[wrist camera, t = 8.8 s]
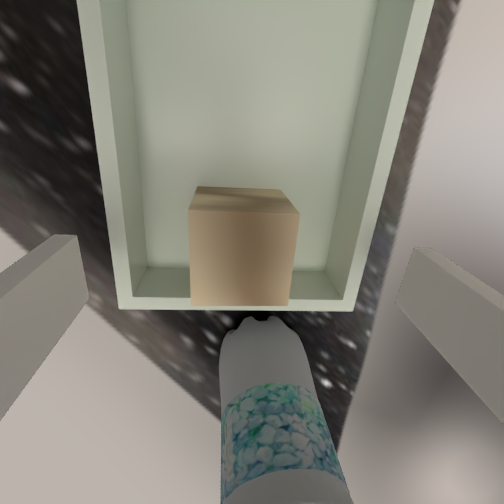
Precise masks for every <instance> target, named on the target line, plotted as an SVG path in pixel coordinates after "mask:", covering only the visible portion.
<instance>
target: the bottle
mask: <svg viewBox="0 0 504 504" xmlns="http://www.w3.org/2000/svg"><path fill="white" fill-rule="evenodd" d="M219 379H220V394H221V409H222V419H221V504H354V503H353V501H352V499H351V497H350V494H349V490H348V487H347V484H346V481H345V478H344V475H343V472H342V469H341V466H340V463H339V460H338V457H337V454H336V451H335V448H334V445H333V442H332V439H331V436H330V433H329V430H328V427H327V424H326V421H325V418H324V415H323V412H322V409H321V406H320V404H319V401H318V398H317V395H316V391H315V387H314V383H313V379H312V375H311V371H310V367H309V363H308V360H307V356H306V353H305V350H304V347H303V344H302V342H301V340H300V338H299V336H298V335H297V334H296V332H294V331H293V330H292V329H289V328H288V327H287V326H286V325H285V324H284V322H283V321H282V320H281V319H279V318H278V317H274V316H270V317H268V319H267V321H257V320H255V319H254V318H253V317H252V316H251V317H247V318H245V319H244V320H243V321H242V323H241V324H240V326H239V327H238V329H236V330H230V331H229V332H228V333H227V334H226V336H225V337H224V340H223V342H222V346H221V352H220V360H219Z"/></svg>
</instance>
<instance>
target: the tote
mask: <svg viewBox="0 0 504 504" xmlns="http://www.w3.org/2000/svg"><path fill="white" fill-rule="evenodd" d="M433 3H434V0H77V7H78V14H79V22H80V29H81V36H82V44H83V51H84V58H85V65H86V73H87V80H88V87H89V95H90V102H91V109H92V116H93V124H94V131H95V138H96V145H97V153H98V160H99V167H100V175H101V182H102V189H103V196H104V204H105V211H106V218H107V225H108V233H109V240H110V247H111V255H112V262H113V269H114V276H115V284H116V291H117V298H118V305H119V309H156V310H266V311H353V309H354V305H355V301H356V297H357V294H358V290H359V286H360V282H361V278H362V274H363V271H364V267H365V263H366V259H367V255H368V252H369V248H370V244H371V240H372V236H373V232H374V229H375V225H376V221H377V217H378V213H379V210H380V206H381V202H382V198H383V194H384V190H385V187H386V183H387V179H388V175H389V171H390V167H391V164H392V160H393V156H394V152H395V148H396V145H397V141H398V137H399V133H400V129H401V125H402V122H403V118H404V114H405V110H406V106H407V102H408V99H409V95H410V91H411V87H412V83H413V80H414V76H415V72H416V68H417V64H418V60H419V57H420V53H421V49H422V45H423V41H424V38H425V34H426V30H427V26H428V22H429V18H430V15H431V11H432V7H433ZM197 186H205V187H229V188H253V189H277V190H281V191H282V192H283V193H284V194H285V196H286V197H287V198H288V199H289V201H290V202H291V203H292V204H293V206H294V207H295V208H296V209H297V210H298V212H299V213H300V219H299V227H298V234H297V242H296V249H295V257H294V264H293V272H292V279H291V287H290V294H289V302H288V306H191V294H190V262H189V231H188V208H189V206H190V204H191V201H192V199H193V196H194V194H195V191H196V189H197Z"/></svg>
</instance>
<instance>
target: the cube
mask: <svg viewBox="0 0 504 504" xmlns="http://www.w3.org/2000/svg"><path fill="white" fill-rule="evenodd" d="M299 219H300V213H299V212H298V210H297V209H296V208H295V207H294V206H293V204H292V203H291V202H290V201H289V199H288V198H287V197H286V196H285V194H284V193H283V192H282V191H281V190H277V189H253V188H229V187H205V186H197V189H196V191H195V194H194V196H193V199H192V201H191V204H190V206H189V208H188V231H189V262H190V294H191V306H288V302H289V294H290V287H291V279H292V272H293V264H294V257H295V249H296V242H297V234H298V227H299Z"/></svg>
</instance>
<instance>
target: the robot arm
mask: <svg viewBox="0 0 504 504" xmlns="http://www.w3.org/2000/svg"><path fill="white" fill-rule="evenodd" d="M88 300H89V294H88V289H87V284H86V279H85V274H84V269H83V264H82V259H81V254H80V249H79V244H78V238H77V235H57V234H54V235H53V236H51V237H50V238H49V239H47V240H46V241H44V242H43V243H42V244H40V245H39V246H37V247H36V248H35V249H33V250H32V251H30V252H29V253H28V254H26V255H25V256H24V257H22V258H21V259H19V260H18V261H17V262H15V263H14V264H12V265H11V266H10V267H8V268H7V269H5V270H4V271H3V272H1V273H0V421H1V419H2V418H3V417H4V415H5V414H6V412H7V411H8V410H9V408H10V407H11V405H12V404H13V403H14V401H15V400H16V399H17V397H18V396H19V394H20V393H21V392H22V390H23V389H24V388H25V386H26V385H27V383H28V382H29V381H30V379H31V378H32V376H33V375H34V374H35V372H36V371H37V370H38V368H39V367H40V366H41V364H42V363H43V361H44V360H45V359H46V357H47V356H48V355H49V353H50V352H51V350H52V349H53V347H54V346H55V345H56V344H57V342H58V341H59V339H60V338H61V337H62V335H63V334H64V333H65V331H66V330H67V328H68V327H69V326H70V324H71V323H72V322H73V320H74V319H75V317H76V316H77V314H78V313H79V312H80V311H81V309H82V308H83V306H84V305H85V304H86V302H87V301H88ZM395 303H396V304H397V306H398V307H399V308H400V309H401V310H402V311H403V312H404V313H405V315H406V316H407V317H408V318H409V319H410V320H411V321H412V322H413V323H414V325H415V326H416V327H417V328H418V329H419V330H420V331H421V332H422V334H423V335H424V336H425V337H426V338H427V339H428V340H429V341H430V343H431V344H432V345H433V346H434V347H435V348H436V349H437V350H438V352H439V353H440V354H441V355H442V356H443V357H444V358H445V359H446V360H447V362H448V363H449V364H450V365H451V366H452V367H453V368H454V369H455V371H456V372H457V373H458V374H459V375H460V376H461V377H462V378H463V380H464V381H465V382H466V383H467V384H468V385H469V386H470V387H471V388H472V390H473V391H474V392H475V393H476V394H477V395H478V396H479V397H480V399H482V401H483V402H484V403H485V404H486V405H487V406H488V407H489V409H490V410H491V411H492V412H493V413H494V414H495V415H496V416H497V418H498V419H499V420H500V421H501V422H502V423H503V424H504V296H503V295H502V294H500V293H499V292H497V291H496V290H494V289H493V288H491V287H490V286H488V285H487V284H485V283H483V282H482V281H480V280H479V279H478V278H476V277H474V276H473V275H471V274H469V273H468V272H467V271H465V270H464V269H462V268H461V267H459V266H458V265H456V264H455V263H453V262H452V261H450V260H449V259H447V258H446V257H444V256H442V255H441V254H440V253H438V252H436V251H435V250H433V249H432V248H420V247H414V248H413V251H412V254H411V257H410V260H409V263H408V266H407V268H406V271H405V274H404V277H403V280H402V283H401V286H400V288H399V291H398V294H397V297H396V300H395Z"/></svg>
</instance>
